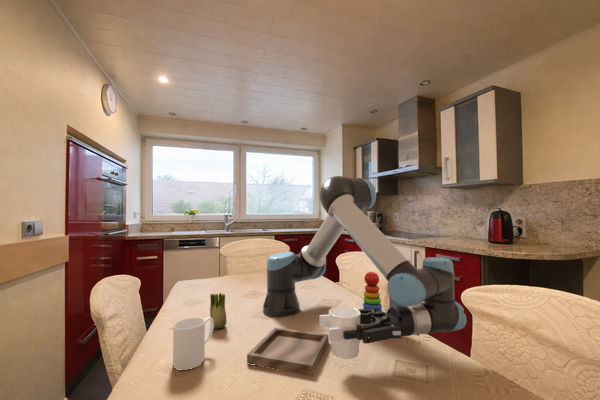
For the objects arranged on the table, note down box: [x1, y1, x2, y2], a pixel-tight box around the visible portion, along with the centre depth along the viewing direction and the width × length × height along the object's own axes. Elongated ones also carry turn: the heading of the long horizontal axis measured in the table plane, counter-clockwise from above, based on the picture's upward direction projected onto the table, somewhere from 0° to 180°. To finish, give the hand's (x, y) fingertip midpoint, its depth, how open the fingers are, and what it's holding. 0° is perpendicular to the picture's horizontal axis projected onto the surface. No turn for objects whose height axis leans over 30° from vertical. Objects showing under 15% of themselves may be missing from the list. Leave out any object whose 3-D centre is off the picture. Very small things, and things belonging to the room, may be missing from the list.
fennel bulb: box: [209, 292, 228, 330], centre depth 96 cm, size 6×5×12 cm
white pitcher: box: [172, 316, 214, 370], centre depth 74 cm, size 12×8×10 cm, turn 150°
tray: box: [246, 327, 330, 377], centre depth 77 cm, size 18×18×2 cm
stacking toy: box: [361, 271, 384, 326], centre depth 95 cm, size 8×8×19 cm
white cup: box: [328, 305, 361, 360], centre depth 67 cm, size 8×8×10 cm
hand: (324, 327), depth 66 cm, fingers closed on white cup, 7 cm apart
